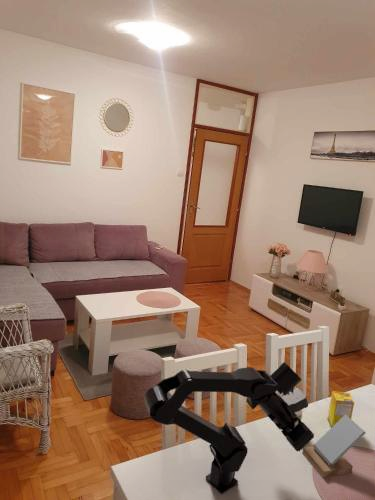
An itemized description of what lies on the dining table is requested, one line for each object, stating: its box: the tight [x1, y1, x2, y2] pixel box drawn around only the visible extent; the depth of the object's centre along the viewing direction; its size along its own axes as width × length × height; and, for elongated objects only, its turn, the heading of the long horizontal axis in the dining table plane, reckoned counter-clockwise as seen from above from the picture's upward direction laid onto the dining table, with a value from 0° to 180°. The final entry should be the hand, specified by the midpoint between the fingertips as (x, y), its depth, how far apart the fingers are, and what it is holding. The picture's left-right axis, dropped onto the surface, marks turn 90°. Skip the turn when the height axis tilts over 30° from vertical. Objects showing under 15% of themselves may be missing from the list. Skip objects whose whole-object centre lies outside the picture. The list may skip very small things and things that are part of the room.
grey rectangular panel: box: [312, 414, 366, 467], centre depth 117 cm, size 1×8×14 cm
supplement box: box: [327, 390, 355, 429], centre depth 135 cm, size 6×6×11 cm
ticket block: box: [302, 445, 353, 479], centre depth 117 cm, size 10×10×2 cm
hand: (299, 435), depth 112 cm, fingers closed
